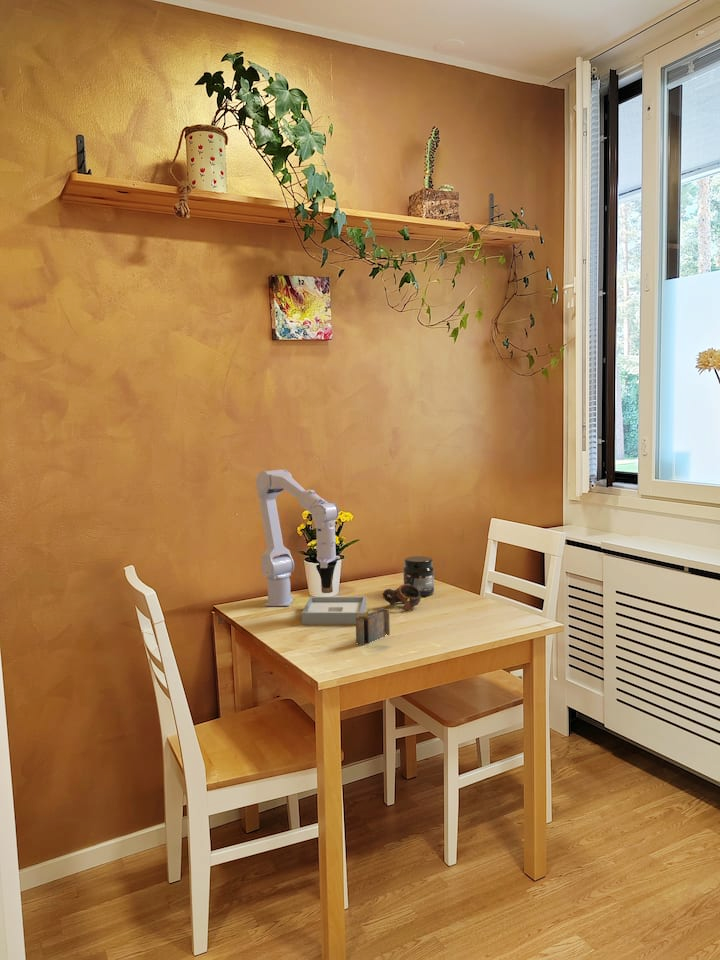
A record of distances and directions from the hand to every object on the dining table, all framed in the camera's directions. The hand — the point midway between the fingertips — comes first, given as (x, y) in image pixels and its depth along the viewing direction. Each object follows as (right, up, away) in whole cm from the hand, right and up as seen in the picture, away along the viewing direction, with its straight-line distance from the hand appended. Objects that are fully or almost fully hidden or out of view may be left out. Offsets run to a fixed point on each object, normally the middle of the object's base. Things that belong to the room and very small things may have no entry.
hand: (327, 586), depth 225 cm
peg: (0, -2, 0) cm, 2 cm away
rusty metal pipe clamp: (+23, -8, +10) cm, 27 cm away
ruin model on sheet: (+14, -12, -21) cm, 28 cm away
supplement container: (+30, -6, +25) cm, 40 cm away
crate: (+2, -9, +1) cm, 10 cm away
